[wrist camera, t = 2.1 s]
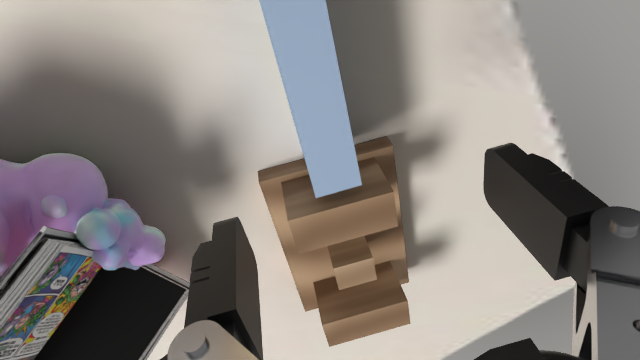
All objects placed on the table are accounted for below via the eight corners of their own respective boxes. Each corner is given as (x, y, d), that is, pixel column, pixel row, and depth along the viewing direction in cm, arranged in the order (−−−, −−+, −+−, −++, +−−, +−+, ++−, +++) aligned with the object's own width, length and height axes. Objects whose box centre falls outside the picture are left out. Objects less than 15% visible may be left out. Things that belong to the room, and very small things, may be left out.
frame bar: (242, -61, 22) (244, -54, 17) (294, -75, 22) (311, -72, 17) (302, 151, 30) (315, 198, 25) (341, 140, 30) (362, 184, 25)
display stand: (257, 171, 30) (262, 221, 25) (386, 136, 31) (415, 179, 26) (303, 298, 39) (313, 355, 34) (403, 270, 39) (427, 322, 34)
